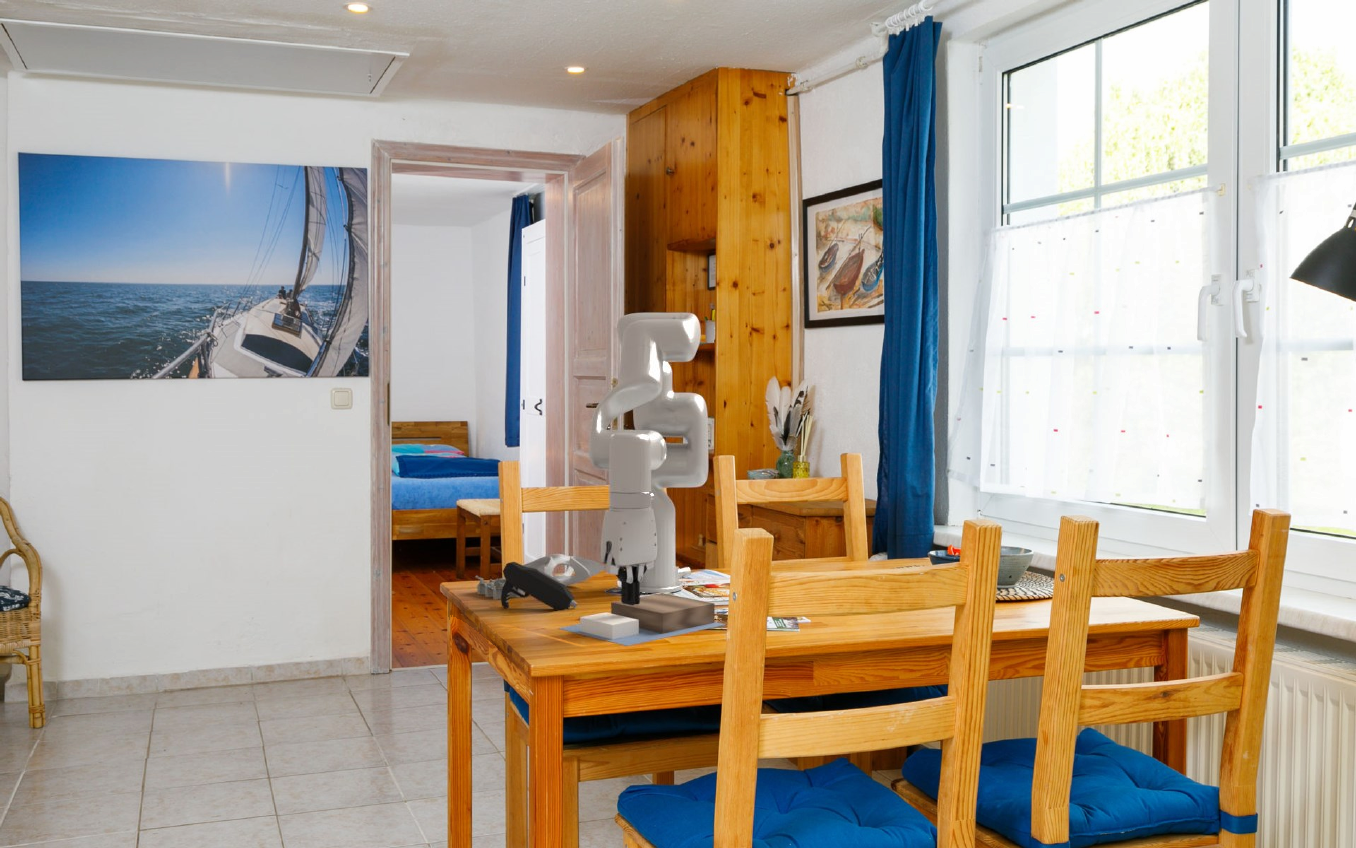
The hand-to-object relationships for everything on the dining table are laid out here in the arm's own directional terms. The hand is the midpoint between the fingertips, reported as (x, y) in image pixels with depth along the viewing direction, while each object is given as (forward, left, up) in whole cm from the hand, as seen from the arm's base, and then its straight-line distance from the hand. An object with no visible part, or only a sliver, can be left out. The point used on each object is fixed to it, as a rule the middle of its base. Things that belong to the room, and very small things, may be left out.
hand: (630, 603), depth 200 cm
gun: (0, -27, -5) cm, 28 cm away
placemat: (-3, 0, -5) cm, 6 cm away
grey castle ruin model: (-4, -46, -6) cm, 46 cm away
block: (-8, 0, -5) cm, 9 cm away
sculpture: (-21, -48, -5) cm, 52 cm away
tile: (+5, 0, -2) cm, 5 cm away
